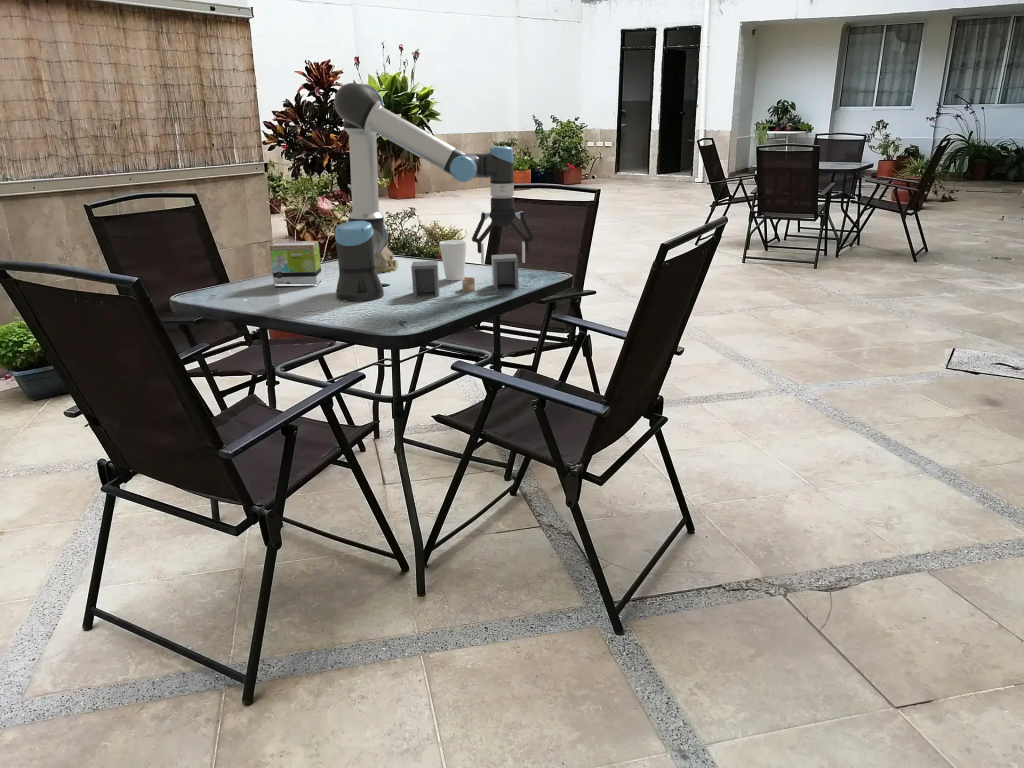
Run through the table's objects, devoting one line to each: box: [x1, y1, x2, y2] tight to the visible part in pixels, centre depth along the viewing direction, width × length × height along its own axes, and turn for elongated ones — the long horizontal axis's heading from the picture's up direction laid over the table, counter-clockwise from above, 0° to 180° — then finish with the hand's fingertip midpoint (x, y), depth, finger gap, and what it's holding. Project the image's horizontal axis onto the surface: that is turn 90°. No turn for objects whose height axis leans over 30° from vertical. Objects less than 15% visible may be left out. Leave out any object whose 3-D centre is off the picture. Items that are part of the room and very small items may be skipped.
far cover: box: [491, 253, 520, 290], centre depth 259 cm, size 8×8×10 cm
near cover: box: [410, 260, 440, 298], centre depth 251 cm, size 8×8×10 cm
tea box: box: [269, 240, 323, 285], centre depth 273 cm, size 15×10×15 cm, turn 92°
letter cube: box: [461, 276, 476, 292], centre depth 256 cm, size 4×4×4 cm
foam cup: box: [438, 239, 468, 282], centre depth 273 cm, size 10×9×13 cm
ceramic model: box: [375, 246, 399, 274], centre depth 296 cm, size 14×11×10 cm
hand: (503, 262), depth 258 cm, fingers open, 13 cm apart
